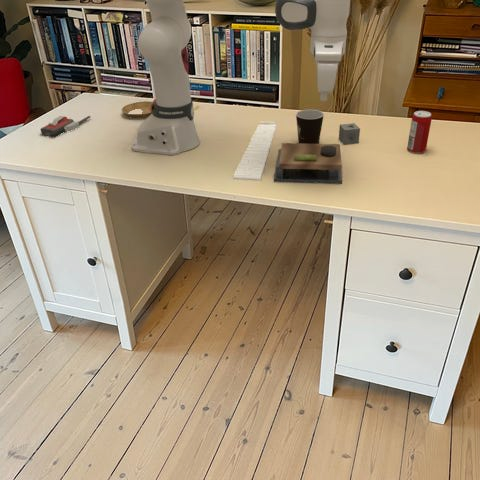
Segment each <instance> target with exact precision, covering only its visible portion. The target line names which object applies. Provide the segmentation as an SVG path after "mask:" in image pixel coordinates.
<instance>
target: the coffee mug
mask: <svg viewBox="0 0 480 480" xmlns="http://www.w3.org/2000/svg"><path fill="white" fill-rule="evenodd" d="M324 115H325V113H324V112H323V111H321V110H318V109H302V110H298V111H297V112H296V113H295V118H296V130H297V140H298V144H320V138H321V134H322V133H321V132H322V127H323V121H324Z"/></svg>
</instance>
